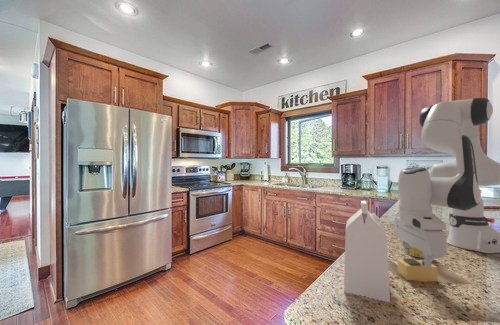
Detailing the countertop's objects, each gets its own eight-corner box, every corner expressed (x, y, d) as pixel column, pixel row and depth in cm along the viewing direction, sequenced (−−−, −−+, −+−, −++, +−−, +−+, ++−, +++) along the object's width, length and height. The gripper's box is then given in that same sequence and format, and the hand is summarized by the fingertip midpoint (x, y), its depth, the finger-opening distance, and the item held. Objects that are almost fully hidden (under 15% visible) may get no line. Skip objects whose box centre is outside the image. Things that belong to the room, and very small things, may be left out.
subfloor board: (437, 266, 79) (437, 263, 79) (472, 287, 65) (472, 283, 65) (380, 264, 81) (380, 261, 81) (402, 284, 67) (402, 280, 67)
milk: (345, 273, 74) (344, 198, 75) (384, 281, 69) (382, 200, 70) (344, 292, 64) (342, 203, 64) (390, 302, 59) (387, 206, 59)
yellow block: (426, 273, 72) (425, 258, 72) (437, 281, 67) (437, 265, 67) (397, 272, 73) (397, 257, 73) (406, 280, 68) (406, 264, 68)
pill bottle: (423, 255, 89) (422, 227, 90) (430, 262, 83) (429, 231, 84) (404, 253, 92) (404, 226, 92) (410, 259, 85) (409, 230, 86)
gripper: (387, 210, 81) (389, 247, 81) (426, 225, 61) (428, 275, 61) (405, 210, 80) (406, 247, 80) (451, 226, 60) (452, 275, 60)
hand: (416, 259), depth 70 cm, fingers open, 8 cm apart
